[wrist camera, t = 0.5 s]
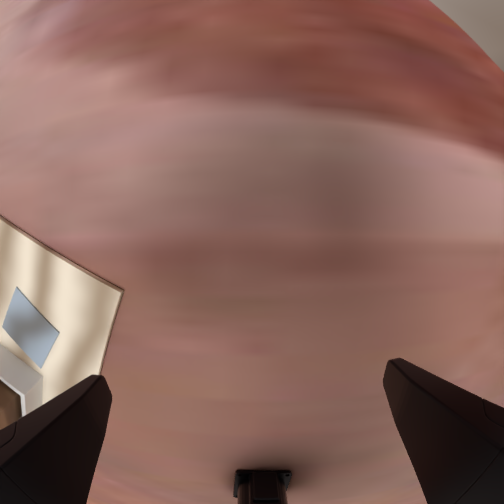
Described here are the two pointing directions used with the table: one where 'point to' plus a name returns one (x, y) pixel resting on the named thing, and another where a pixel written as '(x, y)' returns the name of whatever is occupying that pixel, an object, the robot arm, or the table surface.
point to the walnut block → (9, 405)
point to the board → (52, 311)
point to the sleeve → (21, 380)
